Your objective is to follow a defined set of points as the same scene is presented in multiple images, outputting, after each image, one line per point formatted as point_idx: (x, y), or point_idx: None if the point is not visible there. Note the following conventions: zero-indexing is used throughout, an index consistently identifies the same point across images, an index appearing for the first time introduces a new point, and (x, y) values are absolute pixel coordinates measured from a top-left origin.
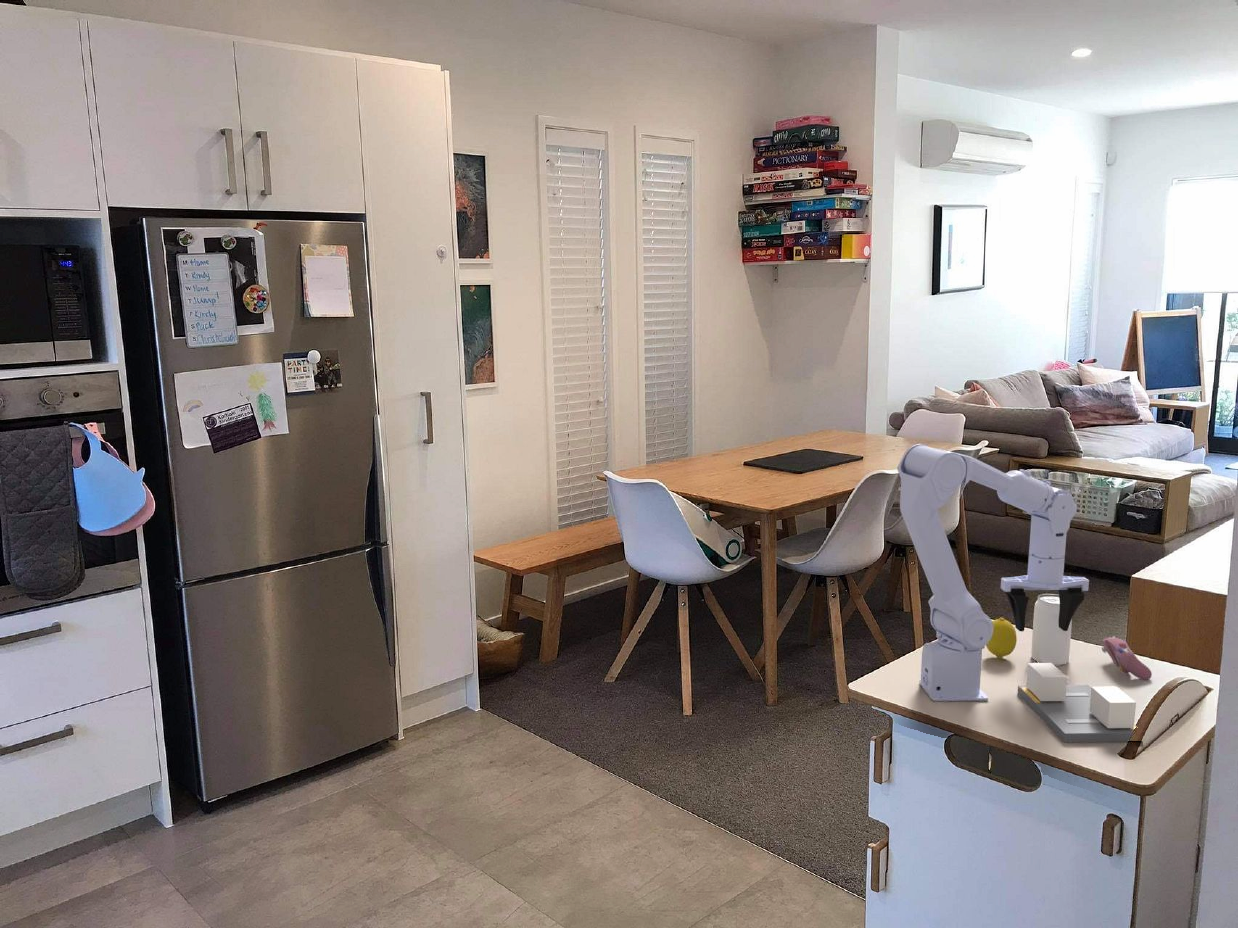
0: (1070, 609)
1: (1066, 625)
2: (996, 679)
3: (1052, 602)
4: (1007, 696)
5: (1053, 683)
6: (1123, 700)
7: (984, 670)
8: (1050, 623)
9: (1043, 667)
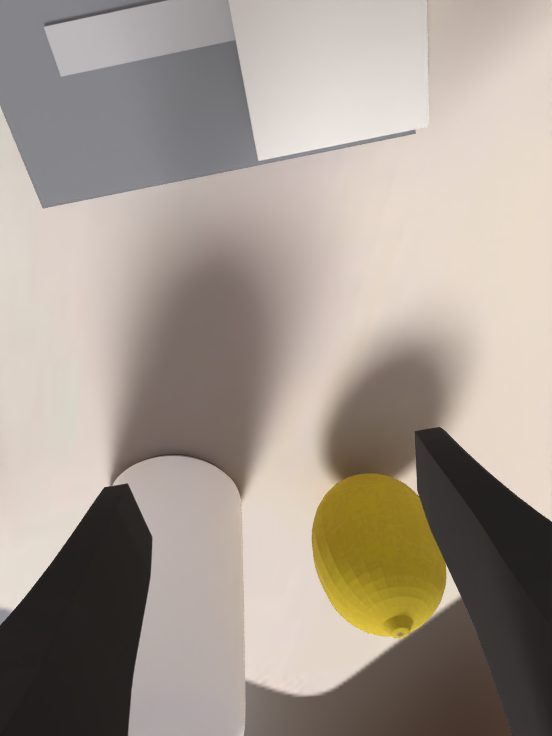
0: (41, 633)
1: (103, 511)
2: (440, 288)
3: None
4: (464, 81)
5: None
6: None
7: (455, 370)
8: (178, 613)
9: (340, 45)
